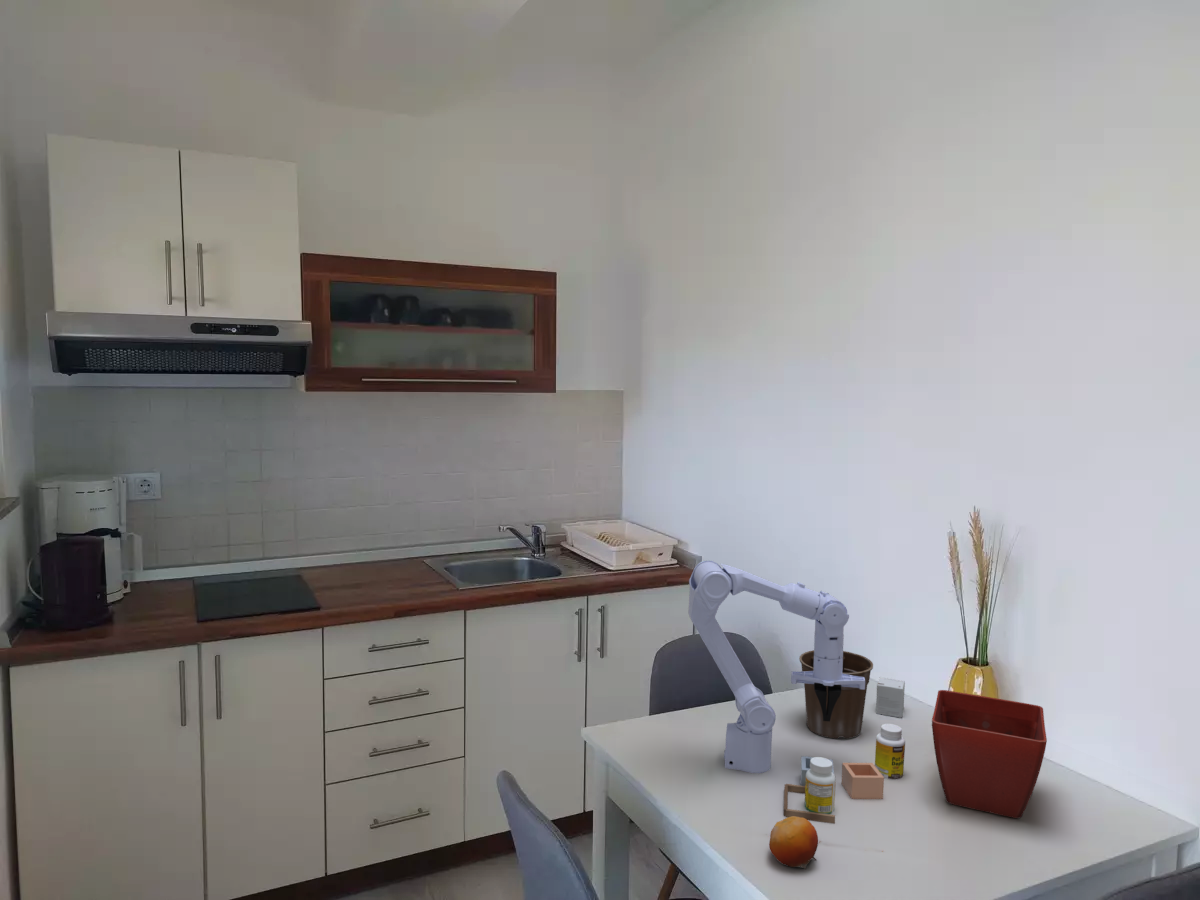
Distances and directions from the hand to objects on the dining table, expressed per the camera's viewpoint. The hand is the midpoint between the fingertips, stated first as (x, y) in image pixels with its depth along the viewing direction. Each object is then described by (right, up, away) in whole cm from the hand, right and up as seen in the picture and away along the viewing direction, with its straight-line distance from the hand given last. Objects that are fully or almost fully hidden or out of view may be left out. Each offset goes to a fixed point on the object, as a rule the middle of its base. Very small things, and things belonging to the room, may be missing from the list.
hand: (826, 719), depth 170 cm
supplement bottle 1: (-6, -12, -16) cm, 21 cm away
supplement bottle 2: (+12, -11, -2) cm, 17 cm away
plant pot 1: (+7, -9, +21) cm, 24 cm away
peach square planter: (+4, -11, -10) cm, 16 cm away
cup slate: (-4, -11, -8) cm, 14 cm away
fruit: (-14, -13, -32) cm, 37 cm away
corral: (-8, -12, -16) cm, 21 cm away
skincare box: (+24, -9, +31) cm, 40 cm away
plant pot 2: (+28, -12, -10) cm, 32 cm away
